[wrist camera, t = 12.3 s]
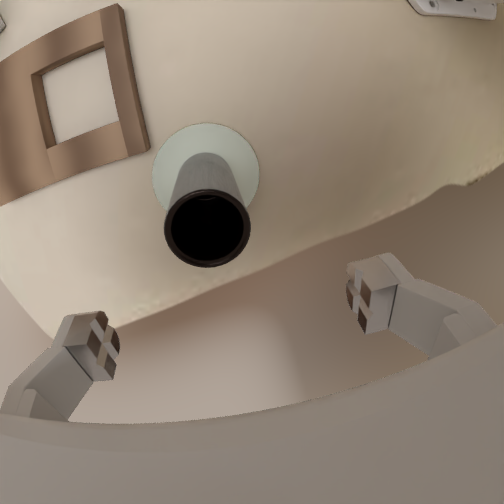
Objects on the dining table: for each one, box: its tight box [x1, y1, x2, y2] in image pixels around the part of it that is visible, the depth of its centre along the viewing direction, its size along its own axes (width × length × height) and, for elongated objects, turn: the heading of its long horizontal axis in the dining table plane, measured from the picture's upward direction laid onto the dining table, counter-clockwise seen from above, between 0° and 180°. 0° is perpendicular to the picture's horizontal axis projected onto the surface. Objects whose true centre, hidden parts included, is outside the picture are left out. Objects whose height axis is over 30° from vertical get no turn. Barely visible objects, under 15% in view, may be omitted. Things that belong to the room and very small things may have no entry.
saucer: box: [152, 123, 259, 211], centre depth 24 cm, size 9×9×1 cm
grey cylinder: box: [164, 152, 251, 268], centre depth 20 cm, size 4×4×10 cm
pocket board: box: [0, 3, 150, 206], centre depth 18 cm, size 16×13×2 cm
